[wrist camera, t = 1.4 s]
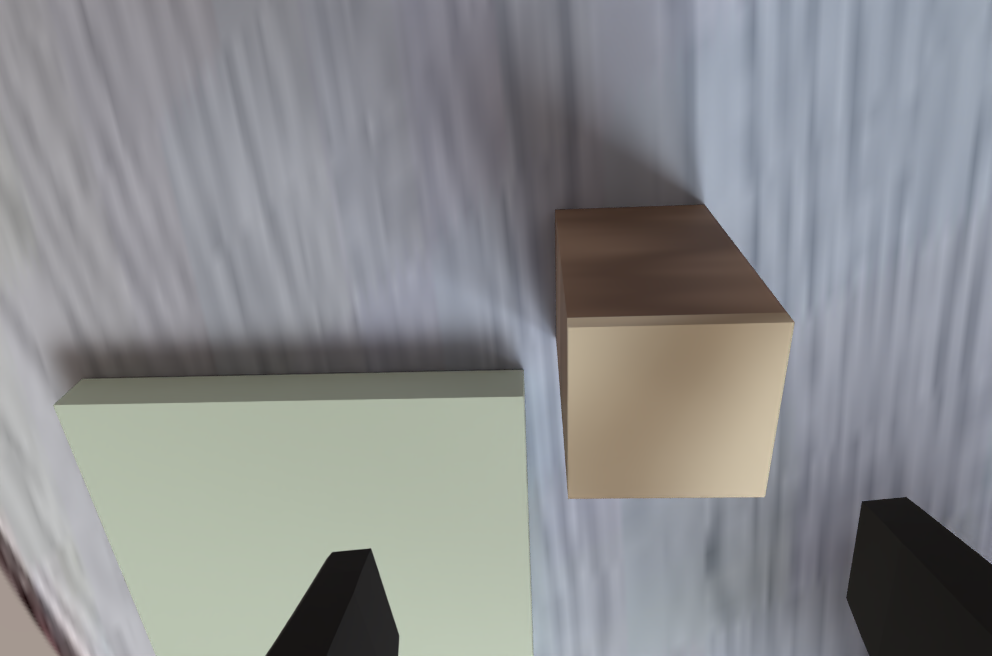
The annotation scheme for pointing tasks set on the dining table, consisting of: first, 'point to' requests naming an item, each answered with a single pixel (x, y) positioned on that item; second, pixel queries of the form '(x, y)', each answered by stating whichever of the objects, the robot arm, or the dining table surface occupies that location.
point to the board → (312, 501)
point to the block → (664, 356)
